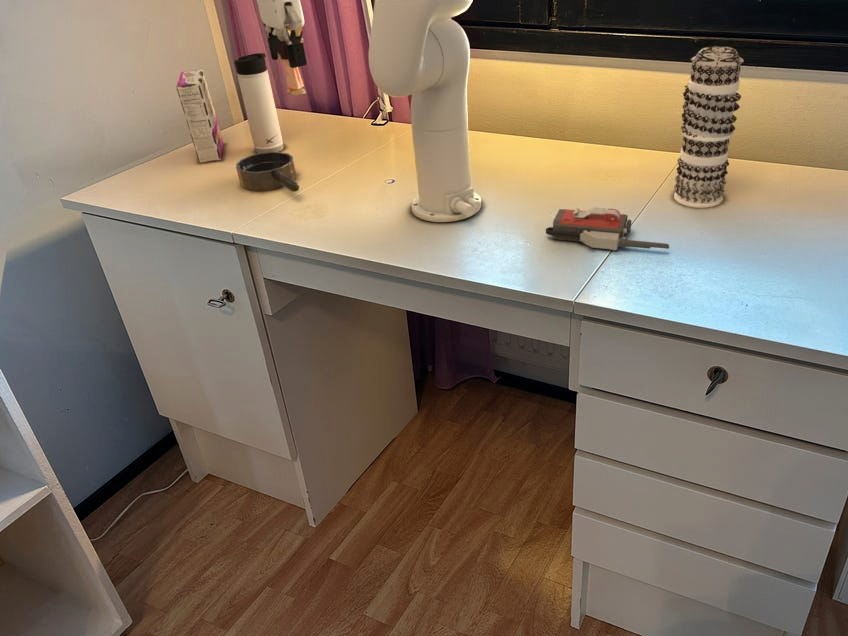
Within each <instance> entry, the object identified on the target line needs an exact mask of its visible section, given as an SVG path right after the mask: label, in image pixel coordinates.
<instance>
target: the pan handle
mask: <svg viewBox="0 0 848 636" xmlns="http://www.w3.org/2000/svg"><path fill="white" fill-rule="evenodd" d="M273 178H274V179H276V180H277V181H279V182H280V183H281V184H283V185H284V187H286V188H287V189H288V190H290V191H292V192H293V193H296V192H298V191H299V190H300V185H299V183H298V182H296V181H295V179H294V180H292V179H291V178H289V177H288V176H286V175H285V174H284V173H282V172H281V171H279V170H275V171H274V172H273Z"/></svg>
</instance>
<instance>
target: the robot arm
mask: <svg viewBox="0 0 848 636" xmlns="http://www.w3.org/2000/svg"><path fill="white" fill-rule="evenodd" d="M256 3H257V7H258V12H259V16H260V19H261V21H262V23H263V26H264V27H265V36H266V37H267V38H266V39H267V43H268V48H269V53H270V58H271V60H273V61H276V60H279V59H278V53H277V48H278V45H279V44H280V42H281V41H280V40H279V39H278V37H277V36H276V35H273V34H272V33H273V30H274V28H276V29H279V30H282V32H283V34H284V37H285V39H286V42H287V44H288V45H285V46H286V50H287V55H288V60H289V65H290V67H291V68H296V67H298V68H301V67H305V66H307V64H308V62H307V57H306V52H305V47H304V38H303V27H304V25H305V17H304V13H303V8H302V4H301V3H302V2H301V0H256ZM472 3H473V0H374V4H373V13H372V20H371V28H370V35H369V44H368V68H369V72H370V76H371V78H372V81H373V83H374V85H375V86H376V88H377V89H378V90H379V91H380V92H381V93H383V94H384V95H386V96H387V97H388V96H389V97H391V98H404V97H408V96H411V98H410V109H409V111H410V112H409V113H410V123H411V125H410V126H411V134H412V135H411V136H412V145H413V153H414V161H415V162H414V164H415V171H416V180H417V190H418V195H417V196H416V197H415V198H414V199H413V200H412V201H411V203H410V205H411V206H410V207H411V212H412V214H413V215H414V216H415V217H417V218H419V219H420V220H423V221H427V222H432V223H451V222H457V221H462V220H465V219H468V218H470V217H472V216H474V215H475V214H477V213H478V212H479V211H480V210H481V208H482V199H481V196H480V195H479V194H478V193H476V192H475V189H474V187H472V185H473V184H472V169H471V155H470V154H471V152H470V139H469V138H470V137H469V118H468V115H469V114H468V80H469V79H468V78H469V71H470V62H471V50H470V49H471V48H470V42H469V38H468V36H467V34H466V31H465V30H464V28H463V27H462V26H461V25H460V24H459V23H458V22H457V21H455V20H454V19H451V18H454V17H457V16H459V15H461V14H462V13H464V12H466V11H467V10H468V9H469V8H470V6H471V4H472ZM288 24H289V25H288ZM285 25H288V26H285ZM288 31H290V32H291V33H290V36H289V33H288Z"/></svg>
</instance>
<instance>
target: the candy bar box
mask: <svg viewBox="0 0 848 636" xmlns="http://www.w3.org/2000/svg"><path fill="white" fill-rule="evenodd" d="M175 88H176V91H177V94H178V97H179V98H178V99H179V101H180V104H181V107H182V108H181V109H182V111H183V114H184V117H185V121H186V124H187V127H188V131H189V134H190V136H191V140H192V144H193V147H194V150H195V154H196V157H197V160H198V163H199V164H205V163H212V162H218V161H222V155H223V148H224V139H223V137H222V133H221V130H220V125H219V122H218V119H217V116H216V115H217V114H216V112H215V108H214V104H213V100H212V97H211V93H210V90H209V85H208V83H207V79H206V76H205V72H204V69H195V70H186V71H181V72H180V74H179V77H178V80H177V83H176V86H175Z"/></svg>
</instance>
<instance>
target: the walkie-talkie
mask: <svg viewBox="0 0 848 636" xmlns="http://www.w3.org/2000/svg"><path fill="white" fill-rule="evenodd" d="M631 229H632V219H628V214H626V213H620V211H619V210H618V209H615V208H605V207H595V206H594V207H591V208H590V209H588V210H580V208H579V207H575V209H569V208H561V209H560V208H559V209H558V210H557V213H556V215H555V217H554V218H553V222H552V226H549V227H547V228H545V234H546V235H548V236H552V238H554V239H555V240H558V241H568V242H578V243H583V244H584V245H586V246H588V247H589V248H594V249H604V250H610V251H617V250H618V247H620V248H626V247H630V248H640V249H651V248H654V249H665V250H666V249H667V250H668V249H670V244H669V243H664V242H656V241H655V242H654V241H644V240H632V239H627V237H626V236H625V235H627V234H628V233H629V234H630V233H631Z"/></svg>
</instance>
